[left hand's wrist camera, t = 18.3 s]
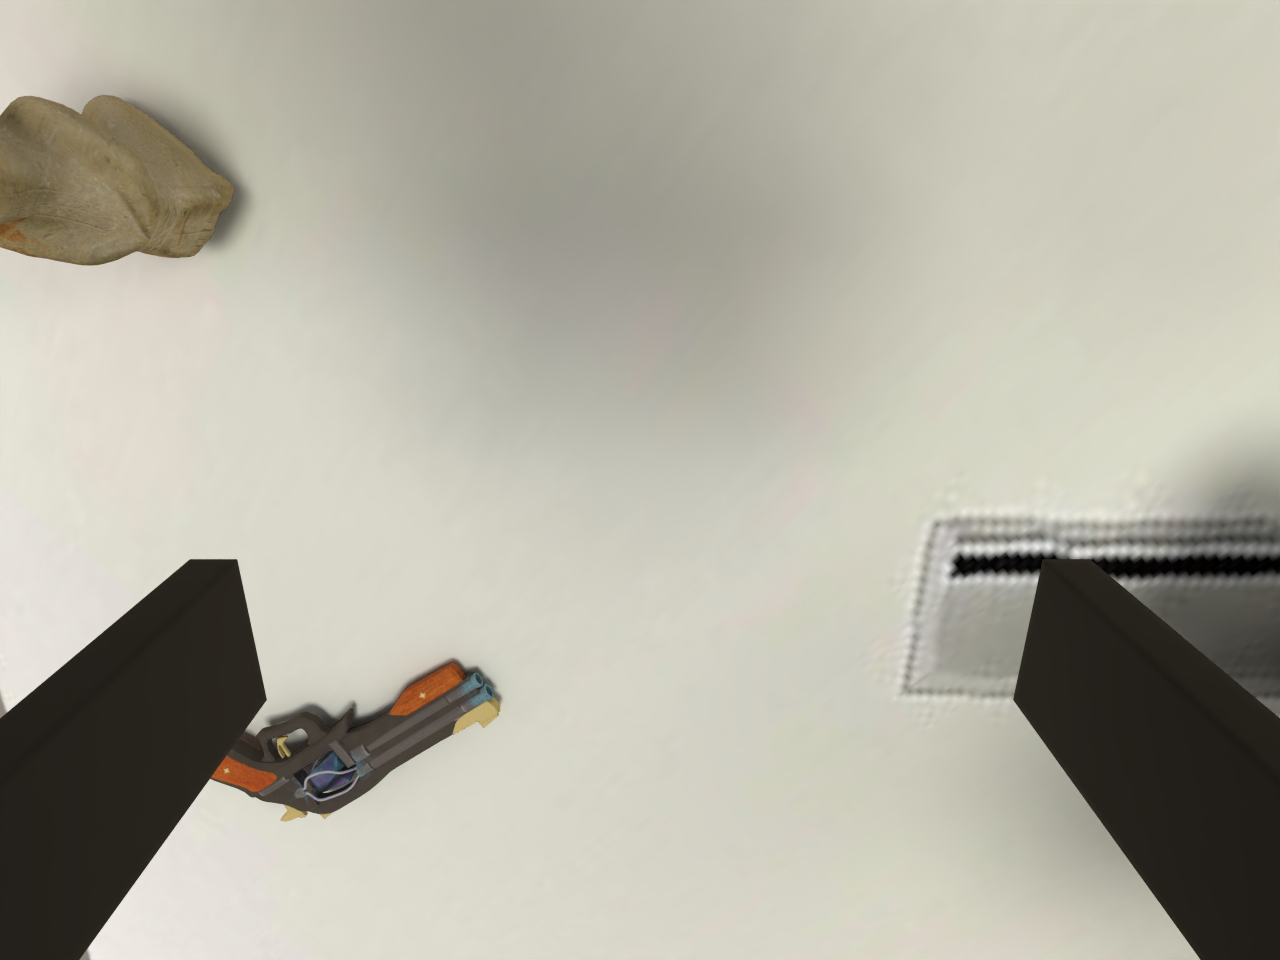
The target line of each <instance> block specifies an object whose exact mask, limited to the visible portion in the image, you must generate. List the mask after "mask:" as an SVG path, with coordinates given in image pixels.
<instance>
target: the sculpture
mask: <svg viewBox="0 0 1280 960" xmlns="http://www.w3.org/2000/svg"><path fill="white" fill-rule="evenodd" d="M233 194H234V186H233V185H232V184H231V183H230V182H229V181H228V180H227V179H226V178H225V177H223V176H222V175H220V174H216V173H214V172H212V171H211V170H210V169H209V168H208V167H206V166H205V165H204V164H203V163H202V162H201V160H200V159H199V158H198V157H197V156H196V155H195V154H194V153H193V152H192V151H191V150H190V149H189V148H188V147H187V146H186V145H185V144H183V143H182V142H181V141H180V140H179V139H177V138H176V137H175V136H174V135H172V134H171V133H170V132H169V131H167V130H166V129H165V128H164V127H162V126H161V125H160V124H159V123H157V122H156V121H155V120H153V119H152V118H151V117H150V116H148V115H147V114H145V113H143V112H142V111H140V110H139V109H137V108H135V107H134V106H132V105H131V104H129V103H127V102H125V101H124V100H122V99H120V98H118V97H115V96H108V95H101V96H97V97H95V98H94V99H92V100H91V101H89V102H88V103H87V105H86V106H85V107H84V110H83V113H82V115H81V114H79V113H78V112H76V111H74V110H72V109H70V108H68V107H66V106H64V105H62V104H59V103H56V102H53V101H50V100H47V99H43V98H40V97H34V96H23V97H19V98H17V99H16V100H14V101H13V102H11V103H10V105H9V106H8V107H7V108H6V109H5V111H4V112H3V113H2V114H1V116H0V247H1V248H5V249H8V250H12V251H15V252H18V253H21V254H24V255H27V256H32V257H39V258H46V259H51V260H55V261H61V262H67V263H72V264H78V265H100V264H105V263H108V262H112V261H115V260H118V259H120V258H122V257H125V256H127V255H129V254H131V253H133V252H136V251H139V252H142V253H146V254H151V255H156V256H161V257H169V258H180V257H191V256H194V255H196V254H197V253H198V252H199V251H200V249H201V248H202V247H203V245H204V244H206V242H207V241H208V240H209V239H210V238H211V236H212V235H213V233H214V231H215V229H216V226H215V224H216V222H217V219H218V217H219V214H220V212H221V211H223V210H225V209H226V208H227V207H228V206H229V204H230V201H231V199H232V196H233Z"/></svg>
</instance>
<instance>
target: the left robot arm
mask: <svg viewBox="0 0 1280 960" xmlns="http://www.w3.org/2000/svg"><path fill="white" fill-rule="evenodd" d="M266 700H267V699H266V694H265V689H264V685H263V680H262V675H261V670H260V666H259V661H258V656H257V651H256V647H255V642H254V637H253V632H252V628H251V623H250V618H249V613H248V609H247V604H246V599H245V594H244V590H243V585H242V580H241V575H240V571H239V566H238V561H237V559H190V560H189V561H188V562H186V563H185V564H184V565H183V566H182V567H180V568H179V569H178V570H177V571H176V572H174V573H173V574H172V575H171V576H170V577H169V578H167V579H166V580H165V581H164V582H163V583H161V584H160V585H159V586H158V587H157V588H155V589H154V590H153V591H152V592H151V593H149V594H148V595H147V596H146V597H145V598H143V599H142V600H141V601H140V602H139V603H137V604H136V605H135V606H134V607H133V608H132V609H130V610H129V611H128V612H127V613H126V614H124V615H123V616H122V617H121V618H120V619H118V620H117V621H116V622H115V623H114V624H112V625H111V626H110V627H109V628H108V629H106V630H105V631H104V632H103V633H102V634H100V635H99V636H98V637H97V638H96V639H95V640H93V641H92V642H91V643H90V644H89V645H87V646H86V647H85V648H84V649H83V650H81V651H80V652H79V653H78V654H77V655H75V656H74V657H73V658H72V659H71V660H69V661H68V662H67V663H66V664H65V665H64V666H62V667H61V668H60V669H59V670H58V671H56V672H55V673H54V674H53V675H52V676H50V677H49V678H48V679H47V680H46V681H44V682H43V683H42V684H41V685H40V686H38V687H37V688H36V689H35V690H34V691H32V692H31V693H30V694H29V695H28V696H27V697H25V698H24V699H23V700H22V701H21V702H19V703H18V704H17V705H16V706H15V707H13V708H12V709H11V710H10V711H9V712H7V713H6V714H5V715H4V716H3V717H2V718H0V960H79V959H80V958H81V957H82V955H83V954H84V952H85V951H86V950H87V948H88V947H89V946H90V944H91V943H92V941H93V940H94V939H95V937H96V936H97V934H98V933H99V932H100V930H101V929H102V928H103V926H104V925H105V923H106V922H107V921H108V919H109V918H110V916H111V915H112V914H113V912H114V911H115V909H116V908H117V907H118V905H119V904H120V903H121V901H122V900H123V898H124V897H125V896H126V894H127V893H128V891H129V890H130V889H131V887H132V886H133V885H134V883H135V882H136V880H137V879H138V878H139V876H140V875H141V873H142V872H143V871H144V869H145V868H146V867H147V865H148V864H149V862H150V861H151V860H152V858H153V857H154V855H155V854H156V853H157V851H158V850H159V848H160V847H161V846H162V844H163V843H164V842H165V840H166V839H167V837H168V836H169V835H170V833H171V832H172V830H173V829H174V828H175V826H176V825H177V824H178V822H179V821H180V819H181V818H182V817H183V815H184V814H185V812H186V811H187V810H188V808H189V807H190V806H191V804H192V803H193V801H194V800H195V799H196V797H197V796H198V794H199V793H200V792H201V790H202V789H203V787H204V786H205V785H206V783H207V782H208V781H209V779H210V778H211V776H212V775H213V774H214V772H215V771H216V769H217V768H218V767H219V765H220V764H221V763H222V761H223V760H224V758H225V757H226V756H227V754H228V753H229V751H230V750H231V749H232V747H233V746H234V745H235V743H236V742H237V740H238V739H239V738H240V736H241V735H242V733H243V732H244V731H245V729H246V728H247V726H248V725H249V724H250V722H251V721H252V720H253V718H254V717H255V715H256V714H257V713H258V711H259V710H260V708H261V707H262V706H263V704H264V703H265V702H266ZM1013 700H1014V702H1015V703H1016V704H1017V706H1018V707H1019V708H1020V710H1021V711H1022V713H1023V714H1024V715H1025V717H1026V718H1027V720H1028V721H1029V722H1030V724H1031V725H1032V726H1033V728H1034V729H1035V731H1036V732H1037V733H1038V735H1039V736H1040V738H1041V739H1042V740H1043V742H1044V743H1045V745H1046V746H1047V747H1048V749H1049V750H1050V751H1051V753H1052V754H1053V756H1054V757H1055V758H1056V760H1057V761H1058V763H1059V764H1060V765H1061V767H1062V768H1063V769H1064V771H1065V772H1066V774H1067V775H1068V776H1069V778H1070V779H1071V781H1072V782H1073V783H1074V785H1075V786H1076V787H1077V789H1078V790H1079V792H1080V793H1081V794H1082V796H1083V797H1084V799H1085V800H1086V801H1087V803H1088V804H1089V806H1090V807H1091V808H1092V810H1093V811H1094V812H1095V814H1096V815H1097V817H1098V818H1099V819H1100V821H1101V822H1102V824H1103V825H1104V826H1105V828H1106V829H1107V830H1108V832H1109V833H1110V835H1111V836H1112V837H1113V839H1114V840H1115V842H1116V843H1117V844H1118V846H1119V847H1120V848H1121V850H1122V851H1123V853H1124V854H1125V855H1126V857H1127V858H1128V860H1129V861H1130V862H1131V864H1132V865H1133V867H1134V868H1135V869H1136V871H1137V872H1138V873H1139V875H1140V876H1141V878H1142V879H1143V880H1144V882H1145V883H1146V885H1147V886H1148V887H1149V889H1150V890H1151V891H1152V893H1153V894H1154V896H1155V897H1156V898H1157V900H1158V901H1159V903H1160V904H1161V905H1162V907H1163V908H1164V909H1165V911H1166V912H1167V914H1168V915H1169V916H1170V918H1171V919H1172V921H1173V922H1174V923H1175V925H1176V926H1177V928H1178V929H1179V930H1180V932H1181V933H1182V934H1183V936H1184V937H1185V939H1186V940H1187V941H1188V943H1189V944H1190V946H1191V947H1192V948H1193V950H1194V951H1195V952H1196V954H1197V955H1198V957H1199V958H1200V959H1201V960H1280V718H1279V717H1277V716H1276V715H1275V714H1274V713H1273V712H1271V711H1270V710H1269V709H1268V708H1267V707H1265V706H1264V705H1263V704H1262V703H1261V702H1259V701H1258V700H1257V699H1256V698H1255V697H1253V696H1252V695H1251V694H1250V693H1249V692H1248V691H1246V690H1245V689H1244V688H1243V687H1242V686H1240V685H1239V684H1238V683H1237V682H1236V681H1234V680H1233V679H1232V678H1231V677H1230V676H1228V675H1227V674H1226V673H1225V672H1224V671H1222V670H1221V669H1220V668H1219V667H1218V666H1216V665H1215V664H1214V663H1213V662H1212V661H1211V660H1209V659H1208V658H1207V657H1206V656H1205V655H1203V654H1202V653H1201V652H1200V651H1199V650H1197V649H1196V648H1195V647H1194V646H1193V645H1191V644H1190V643H1189V642H1188V641H1187V640H1185V639H1184V638H1183V637H1182V636H1181V635H1179V634H1178V633H1177V632H1176V631H1175V630H1174V629H1172V628H1171V627H1170V626H1169V625H1168V624H1166V623H1165V622H1164V621H1163V620H1162V619H1160V618H1159V617H1158V616H1157V615H1156V614H1154V613H1153V612H1152V611H1151V610H1150V609H1148V608H1147V607H1146V606H1145V605H1144V604H1143V603H1141V602H1140V601H1139V600H1138V599H1137V598H1135V597H1134V596H1133V595H1132V594H1131V593H1129V592H1128V591H1127V590H1126V589H1125V588H1123V587H1122V586H1121V585H1120V584H1119V583H1117V582H1116V581H1115V580H1114V579H1113V578H1111V577H1110V576H1109V575H1108V574H1107V573H1106V572H1104V571H1103V570H1102V569H1101V568H1100V567H1098V566H1097V565H1096V564H1095V563H1094V562H1092V561H1091V560H1090V559H1043V561H1042V566H1041V571H1040V575H1039V580H1038V585H1037V590H1036V594H1035V599H1034V604H1033V609H1032V613H1031V618H1030V623H1029V628H1028V632H1027V637H1026V642H1025V647H1024V651H1023V656H1022V661H1021V666H1020V670H1019V675H1018V680H1017V685H1016V689H1015V694H1014V699H1013Z"/></svg>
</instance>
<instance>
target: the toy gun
mask: <svg viewBox="0 0 1280 960" xmlns="http://www.w3.org/2000/svg"><path fill="white" fill-rule="evenodd" d="M500 706H501V705H500V704H499V703H498V701H497V700H496V699H495V698H494V692H493V689H492V688H491V686H490V685H488V684H484V685H483V679H482V677H481V676H480V675H479V674H478V673H477V672H475V673H474V674H472V673H471V672H470V673H469V674H467V675H465V674H464V673H463V671H462V670H461V669H460V668H459V666H458V665H456V664H455V663H450V664H448V665H447V666H445V667H443V668H441V669H439V670H437V671H436V672H434V673H432V674H430V675H428V676H427V677H425V678H423V679H421V680H420V681H418V682H416V683H415V684H413V685H411V686H409V687H408V688H406V689H405V690H404V691H403V692H402V694H401V695H400V697H399V698H398V700H397V702H396V703H395V705H394V706H393V708H392V709H391V710H390V711H388V712H387V713H385V714H383V715H382V716H380V717H378V718H377V719H375V720H374V721H372V722H370V723H367V724H365V725H362V726H359V727H354V728H351V726H352V723H353V708H351V709H350V710H349V711H348V712H347V714H346V715H345V716H344V717H343V718H342V720H341V721H339V722H338V723H337V724H336V725H335V726H334V727H332V728H331V727H327V726H326V725H325V724H324V723H323V721H322V720H321V719H320V718H319V717H318V716H316V715H314V714H311V713H308V712H304V713H301V714H300V715H298V716H297V717H295V718H293V719H291V720H289V721H287V722H284V723H281V724H278V725H274V726H270V727H266V728H263V729H262V730H261V731H260V732H259V733H258V734H257V739H258V741H259V742H260V744H261V746H262V748H263V751H264V752H262V751H259V750H257V749H255V748H253V747H251V746H249V745H248V744H246V743H244V742H243V741H241V740H240V739H238V740H237V742H236V743H235V745H234V746H233V747H232V749H231V750H230V751H229V753H228V754H227V756H226V757H225V758H224V760H223V761H222V763H221V764H220V765H219V767H218V768H217V769H216V771H215V772H214V774H213V775H212V776H211V778H210V779H212V780H214V781H217V782H220V783H223V784H226V785H229V786H232V787H235V788H237V789H239V790H241V791H244V792H245V793H246V794H248V795H249V796H250V797H256V798H258V799H260V800H262V801H266V802H272V803H279V804H284V806H285V807H286V809H287V812H286V813H285V815H284V816H283V817H282V818H281V821H289V820H292V819H295V818H297V817H301V818H302V817H306V815H307V814H308V813H307V812H306V811H309V812H313V813H317V814H320V815H321V816H322V817H323V818H324V819H325V818H327V817H328V816H329V815H330V814H331V813H332V812H334V811H336V810H338V809H340V808H342V807H344V806H345V805H347V804H349V803H350V802H352V801H354V800H355V799H357V798H359V797H360V796H362V795H363V794H365V793H366V792H368V791H369V790H370V789H372V788H373V787H374V786H375V785H376V784H378V783H379V782H380V781H381V780H382V779H383V778H384V777H385V776H386V775H387V774H388V773H389V772H390V771H392V770H393V769H395V768H396V767H398V766H400V765H401V764H403V763H405V762H406V761H408V760H410V759H411V758H413V757H415V756H416V755H418V754H420V753H421V752H423V751H425V750H426V749H428V748H430V747H431V746H433V745H435V744H436V743H438V742H440V741H442V740H443V739H445V738H447V737H449V736H451V735H452V734H453V735H454V734H456V733H458V732H459V731H461V730H463V729H465V728H466V727H468V726H470V725H472V724H473V723H475V722H477V721H478V722H479V723H480V724H481V725H482V727H483V728H484V727H486V726H487V725H488V724H489V723H490V722H491V721H493V720H494V719H495V718H496V717H497V716H498V715H499V714H498V712H500ZM300 728H302V729H304V730H305V732H306V733H307V734H308V740H309V743H307V744H305V745H304V746H302V747H301V748H299V749H297V750H296V751H294V752H292V753H291V752H290V751H289V750H288V748H287V747H286V745H285V744H284V741H285V740H286V739H287V738H288V736H283V735H286V734H289V733H291V732H293V731H295V730H297V729H300ZM279 736H280V737H279ZM276 737H278V739H277V749H278V751H277V750H276V749H275V747H274V746H273V743H272V738H276ZM280 746H281V747H280ZM281 748H282V749H283V751H284V752H285V754H284V753H283V751H282V749H281ZM331 748H332V749H331ZM329 751H332V752H331V753H329V754H328V755H327V756H326V757H325V758H324V759H323V760H322V761H321V763H320V764H319V765H318V766H317V767H316V768H315V766H316V764H317V763H318V761H319V760H320V759H321V758H322V757H323V756H324V755H325V754H326V753H328V752H329ZM315 760H316V762H315V763H314V765H313V767H312V771H311V773H310V774H309V775H307V773H306V772H305V771H304V770H303V768H304V767H306V766H307V765H309V764H311V763H312V762H314V761H315ZM355 770H356V771H357V773H358V776H357V777H356V779H355V780H354V781H353V782H351V783H349V784H348V785H346V786H344V787H343V788H340V789H338V790H336V791H333V792H329V793H323V792H325V791H328V790H330V789H333V788H335V787H338V786H340V785H342V784H344V783H347V782H349V781H350V780H351V778H352V776H353V774H354V772H355Z"/></svg>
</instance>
